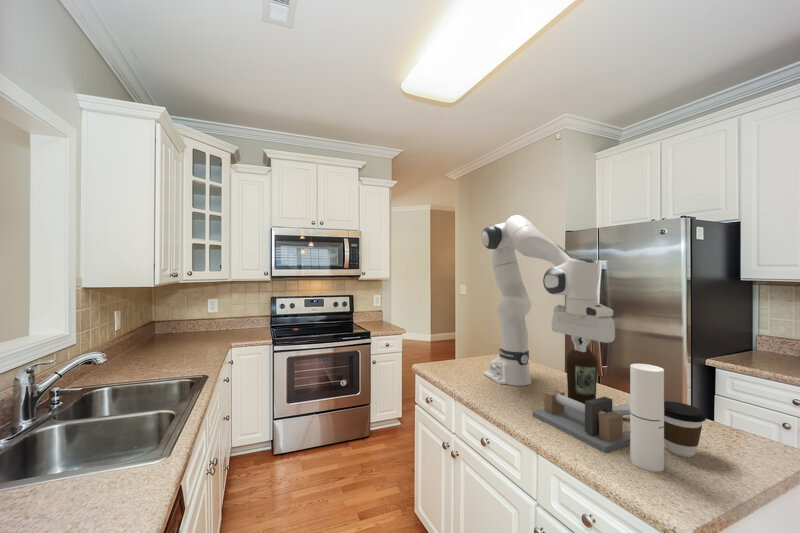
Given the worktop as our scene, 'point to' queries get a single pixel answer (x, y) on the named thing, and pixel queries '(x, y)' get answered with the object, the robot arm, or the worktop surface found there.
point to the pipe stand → (583, 422)
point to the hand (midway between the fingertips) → (580, 351)
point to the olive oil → (581, 374)
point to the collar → (595, 413)
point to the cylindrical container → (647, 416)
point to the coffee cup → (682, 428)
